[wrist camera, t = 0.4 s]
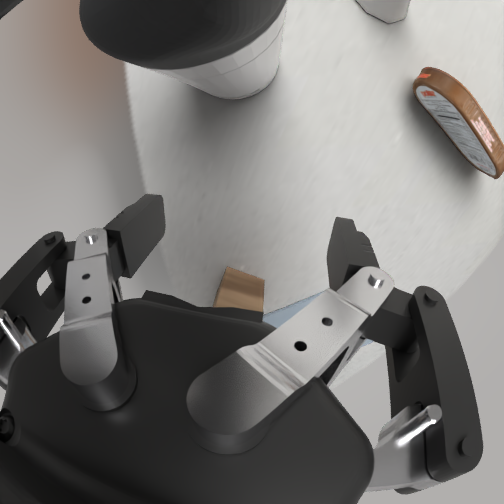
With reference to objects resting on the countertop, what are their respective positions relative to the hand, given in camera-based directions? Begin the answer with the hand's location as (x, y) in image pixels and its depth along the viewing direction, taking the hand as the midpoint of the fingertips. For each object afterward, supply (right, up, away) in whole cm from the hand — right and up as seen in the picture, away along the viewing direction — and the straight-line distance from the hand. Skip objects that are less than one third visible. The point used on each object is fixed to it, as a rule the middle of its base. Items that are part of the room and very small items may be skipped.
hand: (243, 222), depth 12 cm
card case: (-1, -6, +23) cm, 24 cm away
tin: (+24, +14, +11) cm, 30 cm away
